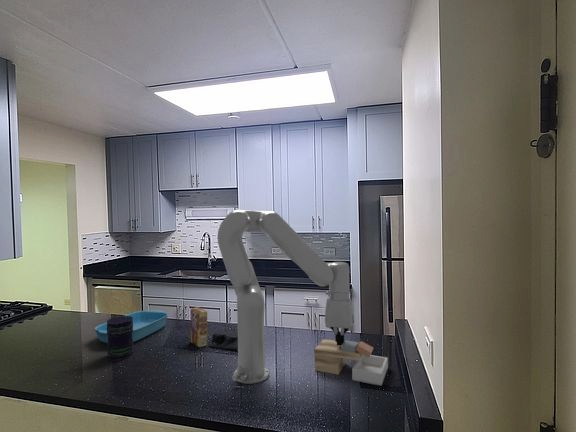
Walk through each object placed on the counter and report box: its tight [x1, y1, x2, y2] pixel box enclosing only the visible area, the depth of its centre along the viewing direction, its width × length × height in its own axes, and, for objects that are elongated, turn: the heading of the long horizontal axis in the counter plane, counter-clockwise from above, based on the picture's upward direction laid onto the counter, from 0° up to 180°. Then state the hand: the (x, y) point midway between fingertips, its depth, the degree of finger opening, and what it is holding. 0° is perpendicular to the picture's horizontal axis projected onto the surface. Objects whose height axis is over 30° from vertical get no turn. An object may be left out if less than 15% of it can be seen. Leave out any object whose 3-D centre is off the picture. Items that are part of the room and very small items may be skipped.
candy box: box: [190, 307, 208, 348], centre depth 155 cm, size 9×4×15 cm, turn 39°
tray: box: [351, 354, 389, 386], centre depth 125 cm, size 14×10×4 cm
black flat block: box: [208, 332, 238, 352], centre depth 154 cm, size 15×22×5 cm
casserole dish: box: [94, 309, 169, 344], centre depth 169 cm, size 37×22×7 cm, turn 164°
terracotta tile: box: [356, 340, 374, 358], centre depth 125 cm, size 5×5×2 cm
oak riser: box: [313, 338, 362, 375], centre depth 129 cm, size 11×16×8 cm, turn 66°
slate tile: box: [342, 339, 360, 353], centre depth 127 cm, size 5×5×2 cm
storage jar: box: [106, 315, 134, 361], centre depth 143 cm, size 10×10×15 cm
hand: (339, 344), depth 129 cm, fingers closed
